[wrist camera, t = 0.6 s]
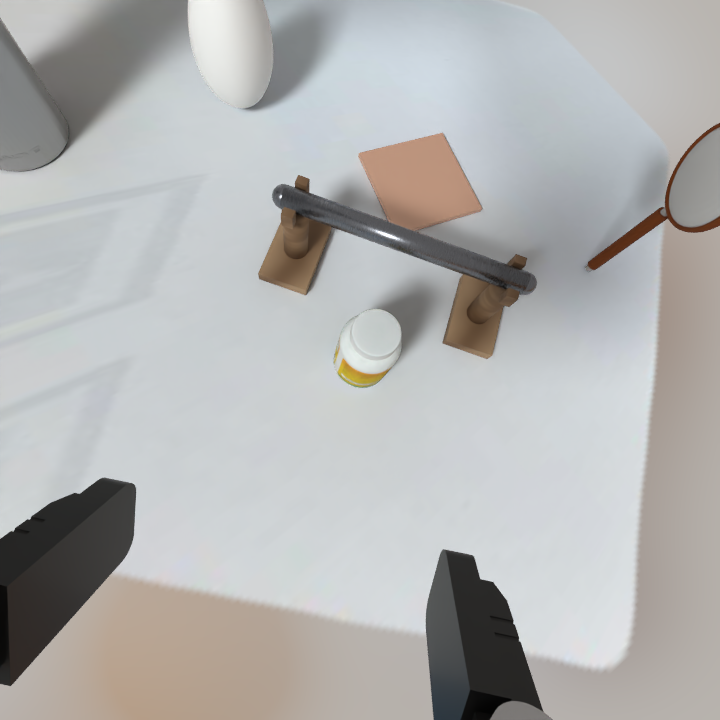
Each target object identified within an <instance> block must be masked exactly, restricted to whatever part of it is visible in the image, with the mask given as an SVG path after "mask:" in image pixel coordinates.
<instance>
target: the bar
mask: <svg viewBox="0 0 720 720" xmlns="http://www.w3.org/2000/svg"><path fill="white" fill-rule="evenodd" d="M272 198H273V202H274V203H275V205H276V206H277V207H279V208H281V209H283V208H284V207H286V208H289V209H292V210H295V211H296V214H297V215H300V216H303V217H305V218H308V219H311V220H314V221H317V222H319V223H322V224H325V225H328V226H330V227H333V228H336V229H339V230H342V231H344V232H347V233H350V234H353V235H356V236H358V237H361V238H364V239H367V240H369V241H372V242H375V243H378V244H381V245H383V246H386V247H389V248H392V249H394V250H397V251H400V252H403V253H406V254H408V255H411V256H414V257H417V258H420V259H422V260H425V261H428V262H431V263H433V264H436V265H439V266H442V267H445V268H447V269H450V270H453V271H456V272H459V273H461V274H464V275H467V276H470V277H472V278H475V279H478V280H481V281H484V282H486V283H489V284H492V285H495V286H497V287H500V288H503V289H506V290H507V289H508V288H511V289H514V290H517V291H520V292H519V294H520V295H528V294H530V293H532V292H533V291H534V290H535V288H536V285H537V281H536V278H535V276H534V275H533V274H531V273H529V272H527V271H524V270H521V269H518V268H515V267H513V266H510V265H507V264H504V263H502V262H499V261H496V260H493V259H491V258H488V257H485V256H482V255H480V254H477V253H474V252H471V251H469V250H466V249H463V248H460V247H458V246H455V245H452V244H449V243H446V242H444V241H441V240H438V239H435V238H433V237H430V236H427V235H424V234H422V233H419V232H416V231H413V230H411V229H408V228H405V227H402V226H400V225H397V224H394V223H391V222H388V221H386V220H383V219H380V218H377V217H375V216H372V215H369V214H366V213H364V212H361V211H358V210H355V209H353V208H350V207H347V206H344V205H342V204H339V203H336V202H333V201H330V200H328V199H325V198H322V197H319V196H317V195H314V194H311V193H308V192H306V191H303V190H300V189H297V188H295V187H292V186H289V185H286V184H281V185H278V186H277V187H276V188H275V189H274V191H273V194H272Z"/></svg>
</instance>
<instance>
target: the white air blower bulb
mask: <svg viewBox="0 0 720 720" xmlns="http://www.w3.org/2000/svg"><path fill="white" fill-rule="evenodd" d="M188 27H189V36H190V42H191V47H192V51H193V54H194V58H195V61H196V63H197V66H198V68H199V71H200V73H201V75H202V77H203V79H204V81H205V82H206V84H207V85H208V86H209V88H210V89H211V90H212V92H213V93H214V94H215V95H216V96H217V97H218V98H219V99H220V100H221V101H222V102H224V103H225V104H227V105H229V106H232V107H235V108H240V109H244V108H248V107H251V106H253V105H255V104H256V103H258V102H259V101H260V99H261V98H262V97H263V95H264V93H265V92H266V89H267V87H268V85H269V82H270V79H271V75H272V69H273V57H274V56H273V41H272V33H271V27H270V23H269V18H268V15H267V11H266V8H265V5H264V2H263V0H188Z"/></svg>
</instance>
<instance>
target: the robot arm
mask: <svg viewBox="0 0 720 720" xmlns="http://www.w3.org/2000/svg"><path fill="white" fill-rule="evenodd" d="M68 137H69V128H68V124H67V121H66V119H65V118H64V116H63V115H62V113H61V112H60V110H59V109H58V107H57V105H56V104H55V102H54V101H53V99H52V98H51V96H50V94H49V93H48V91H47V90H46V88H45V87H44V85H43V83H42V82H41V80H40V79H39V77H38V75H37V74H36V72H35V71H34V69H33V68H32V66H31V65H30V63H29V62H28V60H27V58H26V57H25V55H24V54H23V52H22V51H21V49H20V48H19V46H18V45H17V43H16V41H15V40H14V38H13V37H12V35H11V34H10V32H9V31H8V29H7V28H6V26H5V24H4V23H3V21H2V20H1V18H0V169H1V170H6V171H26V170H32V169H35V168H38V167H41V166H43V165H45V164H47V163H49V162H51V161H52V160H53V159H55V158H56V157H57V156H58V155H59V154H60V153H61V152H62V151H63V149H64V147H65V146H66V144H67V141H68ZM135 503H136V487H135V485H134V484H133V483H128V482H123V481H118V480H113V479H109V478H101V479H99V480H98V481H96V482H95V483H94V484H92V485H91V486H90V487H88V488H87V489H86V490H84V491H83V492H82V493H80V494H77V493H73V494H71V495H69V496H66V497H64V498H61V499H59V500H57V501H54V502H52V503H50V504H48V505H47V506H46V507H44V508H43V509H41V510H40V511H39V512H37V513H36V514H34V515H33V516H32V517H31V519H30V520H28V519H27V520H26V521H25V522H23V523H22V524H20V525H19V526H18V527H16V528H15V530H14V532H12V531H11V532H9V533H8V534H7V535H5V536H4V537H2V538H1V539H0V684H4V685H8V686H11V685H12V684H13V683H14V682H15V681H16V679H18V677H19V676H20V675H21V674H22V673H23V672H24V670H25V669H26V668H27V667H28V666H29V665H30V664H31V663H32V662H33V661H34V659H35V658H36V657H37V656H38V655H39V654H40V653H41V652H42V650H43V649H44V648H45V647H46V646H47V645H48V644H49V643H50V642H51V640H52V639H53V638H54V637H55V636H56V635H57V634H58V633H59V631H60V630H61V629H62V628H63V627H64V626H65V625H66V624H67V622H68V621H69V620H70V619H71V618H72V617H73V616H74V615H75V614H76V612H77V611H78V610H79V609H80V608H81V607H82V606H83V604H84V603H85V602H86V601H87V600H88V599H89V598H90V596H92V594H93V593H94V592H95V591H96V590H97V589H98V588H99V587H100V586H101V584H102V583H103V582H104V581H105V580H106V579H107V578H108V577H109V575H110V574H111V573H112V572H113V571H114V570H115V569H116V568H117V566H118V565H119V564H120V563H121V562H122V561H123V559H124V558H125V557H126V555H127V553H128V551H129V549H130V547H131V544H132V541H133V536H134V522H135ZM426 635H427V646H428V657H429V669H430V681H431V692H432V704H433V715H434V720H552V719H551V718H550V717H549V716H548V715H546V714H545V713H544V712H543V709H542V707H541V703H540V700H539V697H538V694H537V691H536V688H535V685H534V682H533V679H532V676H531V673H530V670H529V667H528V664H527V661H526V658H525V654H524V651H523V648H522V645H521V642H519V636H518V633H517V630H516V627H515V625H514V624H513V618H512V615H511V612H510V609H509V606H508V603H507V600H506V599H505V598H504V596H503V595H502V594H501V592H500V591H499V590H498V588H497V587H496V586H495V584H494V583H493V582H490V581H486V580H481V579H480V577H479V573H478V569H477V566H476V562H475V559H474V557H473V555H468V554H464V553H459V552H454V551H449V550H444V549H443V550H442V552H441V554H440V557H439V561H438V564H437V568H436V572H435V576H434V579H433V583H432V587H431V591H430V594H429V598H428V603H427V610H426Z"/></svg>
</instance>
